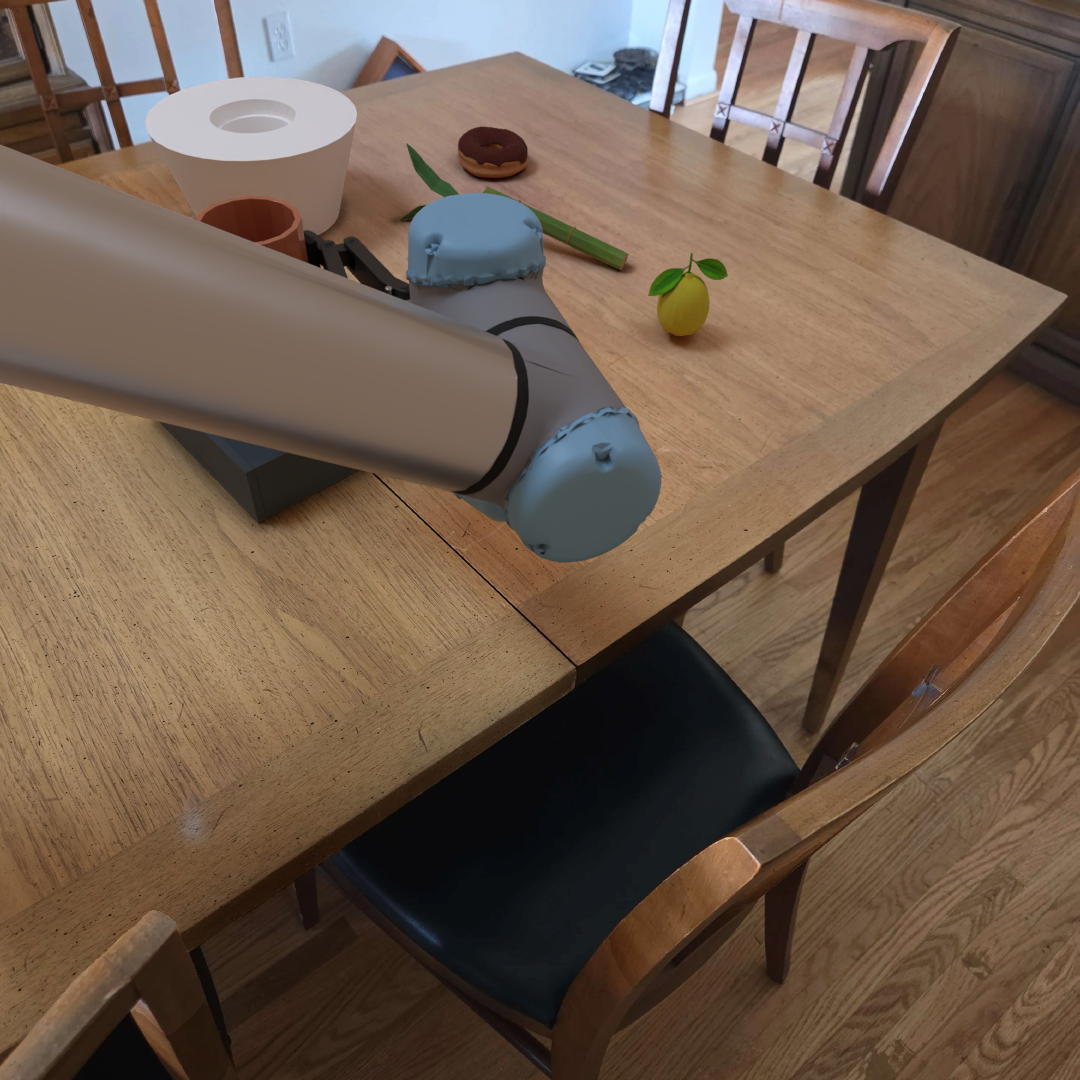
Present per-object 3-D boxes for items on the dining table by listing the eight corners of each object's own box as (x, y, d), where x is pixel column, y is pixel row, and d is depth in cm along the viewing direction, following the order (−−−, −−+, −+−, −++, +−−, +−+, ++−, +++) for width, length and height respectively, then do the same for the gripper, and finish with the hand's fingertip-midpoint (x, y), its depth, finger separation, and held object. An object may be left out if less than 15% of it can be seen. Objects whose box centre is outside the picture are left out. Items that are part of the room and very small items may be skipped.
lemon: (716, 330, 103) (733, 247, 96) (698, 357, 99) (715, 273, 92) (660, 313, 105) (672, 231, 97) (640, 339, 101) (652, 256, 94)
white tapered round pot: (300, 154, 129) (287, 62, 120) (404, 221, 117) (398, 124, 108) (135, 204, 117) (107, 106, 108) (233, 284, 105) (210, 181, 96)
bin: (258, 523, 79) (245, 473, 75) (160, 422, 88) (143, 372, 84) (421, 437, 88) (418, 388, 84) (317, 354, 97) (310, 305, 92)
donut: (522, 186, 125) (522, 156, 122) (450, 178, 126) (449, 148, 123) (533, 154, 132) (534, 125, 129) (465, 146, 133) (465, 118, 130)
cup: (252, 369, 75) (227, 257, 68) (203, 326, 79) (174, 215, 72) (336, 334, 79) (320, 224, 72) (285, 294, 83) (265, 186, 76)
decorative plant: (615, 267, 107) (390, 159, 110) (600, 318, 114) (389, 215, 117) (636, 237, 110) (416, 133, 113) (620, 288, 117) (414, 188, 120)
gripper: (270, 472, 64) (119, 326, 75) (500, 358, 74) (337, 245, 85) (249, 383, 58) (90, 240, 69) (501, 273, 68) (327, 164, 79)
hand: (226, 243), depth 77 cm, fingers closed on cup, 8 cm apart
